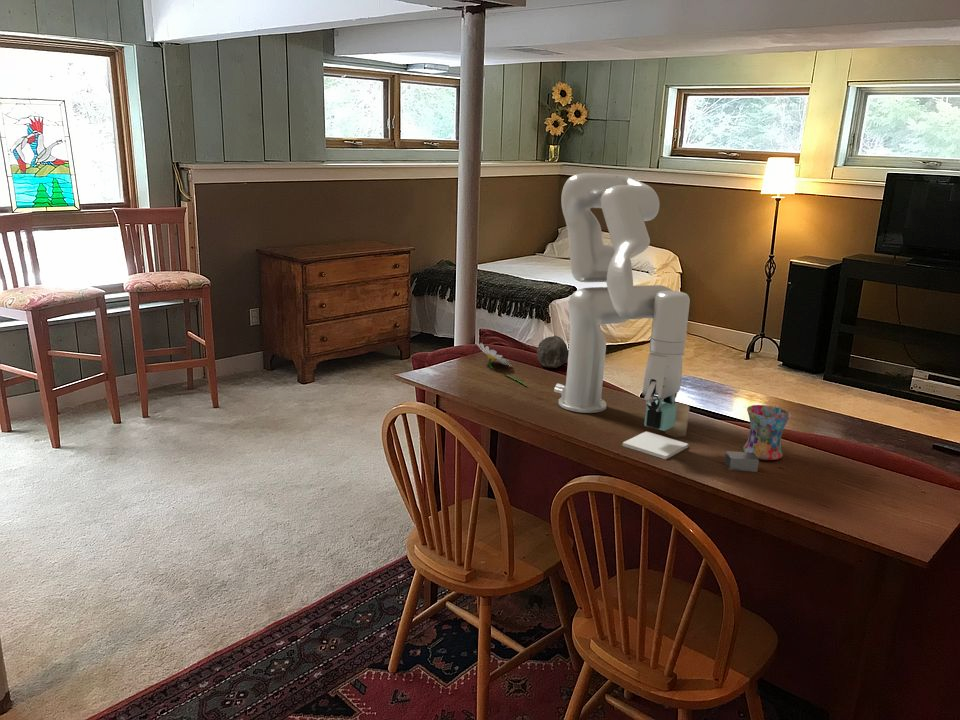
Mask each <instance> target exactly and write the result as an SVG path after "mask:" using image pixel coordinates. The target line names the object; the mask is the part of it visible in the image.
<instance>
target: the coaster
mask: <svg viewBox="0 0 960 720" xmlns="http://www.w3.org/2000/svg"><path fill="white" fill-rule="evenodd" d="M621 446H622V447H624V448H628V449H630V450H631V449H632V450H634V451H637V452H640V453H644V454H647V455H650V456H654V457H657V458H660V459H663V460H667V459H669V458H671V457H673V456H675V455H677V454H678V453H680V452H682V451H684V450H686V449H688V448H689V443H687V442H683V441H681V440H677V439H673V438H671V437H670V438H669V437H666V436H663V435H660V434H656V433H653V432H650V431H644V432H641V433H639V434H637V435H635V436H633V437H631V438H629V439H627V440H624V441H623V442H622V444H621Z"/></svg>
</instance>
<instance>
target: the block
mask: <svg viewBox="0 0 960 720" xmlns="http://www.w3.org/2000/svg"><path fill="white" fill-rule="evenodd" d="M654 401H655V402H656V404H657V402H658V400H654ZM676 407H677V405H674V404H670V403H666V402H662V405H661V409H660V411H661V412H662V415H661V424H660V428H659V429H658V430H660V431H663V432H665V430H667V429H669V428H671V427H673V426H674V425H675V416H676ZM647 413H648V410H647V404H646V405H645V414H644V423H643V424H644V427H648V428H652V427H649V426H647V425H646V423H647ZM652 429H653V428H652ZM654 430H657V429H656V428H654Z"/></svg>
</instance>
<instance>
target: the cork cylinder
mask: <svg viewBox="0 0 960 720" xmlns="http://www.w3.org/2000/svg"><path fill="white" fill-rule="evenodd" d="M675 405H677V407H676V416H675V425H674V426H673V427H671V428H669V429H667V430H665V431H664V433H665V434H666V433H667V434H666V435H668V434H669V435H668V436H670V435H671V437H674V436H676V438H681V437H682V436H683V437H685V436H687V429H688V424H689V423H688V421H689V415H690V414H689V413H690V406H689V405H688V404H685V403H683V402H682V403H681V402H675ZM683 437H682V438H683Z"/></svg>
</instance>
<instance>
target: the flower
mask: <svg viewBox="0 0 960 720" xmlns="http://www.w3.org/2000/svg"><path fill="white" fill-rule="evenodd" d="M476 346H477V347H478V348H479V349H480V350H481V351H482V352H483V353H484V354H485V355H486V356H487V357H488V365H489V367H490V369H491V368H493V369H495V368H494V367H493V366H492V361H493V362H495V361H496V362H498V363H500V364H502V365H505V366H508V365H509V366H511V367H512V363H510V362H509V360H508V359H507V358H503V355H502V354H497V353H498V351H496V350H495V349H490V348H489V346H488V345H486V346H485V345H484V344H483V343H482V342H477V343H476ZM506 375H507V376H509V377H511V378H513V379H514V380H513V379H512V380H513V381H515V380H517V381H518V382H517V381H516V382H517V383H519V382H520V383H522V384H524V385H526V383H524V382H522V381H520V380H519V379H517V378H515V377H513V376H511V375H508V374H506ZM511 378H510V379H511ZM520 383H519V384H520ZM522 384H521V385H522ZM526 386H528V385H526Z"/></svg>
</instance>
